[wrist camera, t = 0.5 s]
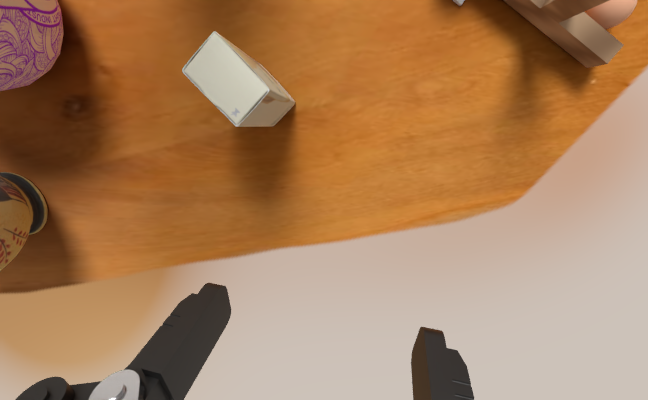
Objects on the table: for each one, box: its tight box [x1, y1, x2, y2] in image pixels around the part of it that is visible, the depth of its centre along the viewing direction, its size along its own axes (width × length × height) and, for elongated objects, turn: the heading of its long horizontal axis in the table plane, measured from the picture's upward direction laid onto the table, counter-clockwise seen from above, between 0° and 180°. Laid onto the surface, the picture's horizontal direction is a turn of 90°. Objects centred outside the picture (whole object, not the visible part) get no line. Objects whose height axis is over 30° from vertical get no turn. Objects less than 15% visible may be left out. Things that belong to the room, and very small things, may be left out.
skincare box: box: [182, 31, 295, 127], centre depth 27 cm, size 6×4×12 cm
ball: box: [586, 0, 637, 29], centre depth 27 cm, size 4×4×4 cm
